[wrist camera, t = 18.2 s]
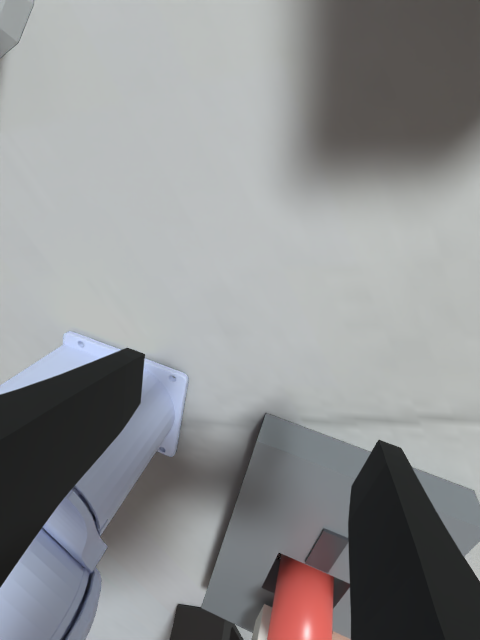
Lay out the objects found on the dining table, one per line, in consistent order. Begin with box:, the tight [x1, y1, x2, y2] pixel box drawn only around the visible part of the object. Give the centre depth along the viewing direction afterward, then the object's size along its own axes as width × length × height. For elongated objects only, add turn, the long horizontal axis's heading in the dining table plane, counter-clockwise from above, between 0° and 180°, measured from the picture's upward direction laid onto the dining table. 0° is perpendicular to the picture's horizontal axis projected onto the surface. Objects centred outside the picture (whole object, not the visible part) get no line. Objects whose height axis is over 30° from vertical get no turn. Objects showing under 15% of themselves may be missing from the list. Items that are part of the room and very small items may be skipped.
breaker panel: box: [201, 413, 480, 640], centre depth 25 cm, size 13×22×3 cm, turn 167°
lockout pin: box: [267, 554, 334, 640], centre depth 23 cm, size 4×4×7 cm
